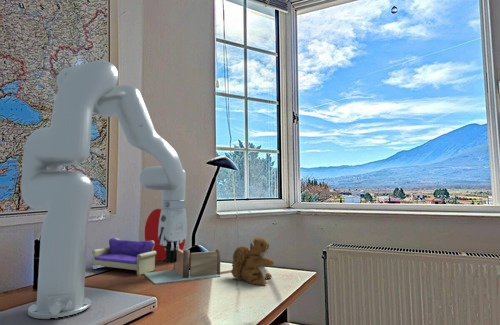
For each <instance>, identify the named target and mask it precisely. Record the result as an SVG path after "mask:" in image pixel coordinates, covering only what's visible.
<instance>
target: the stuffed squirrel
mask: <svg viewBox="0 0 500 325" xmlns="http://www.w3.org/2000/svg"><path fill="white" fill-rule="evenodd" d="M249 241H250V246H249V248H248V247H246V246H243V245H242V246H238V247H237V248H236V249H235V250H234V251H233V254H232V263H231V266H232V268H231V272H230V273H231V275H232V276H233V278H235V279H236V281H246V283H249V284H251V285H255V284H256V286H266V283H267V281H266V280H267V279H265V278H270V277H271V278H272V274H271V273H268V272H267V270H266V268H268V267H271V268H272V267H273V266H274V264H275V261H274V260H273V259H272V258H270V257H266V256H265V254H266V253H267V254H268V253H269V250H270V243H269V242H268V241H267V240H266V239H264V238H262V237H260V236H259V237H255V238H251V239H249ZM265 267H266V268H265ZM271 278H270V279H271Z"/></svg>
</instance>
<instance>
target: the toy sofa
mask: <svg viewBox="0 0 500 325" xmlns="http://www.w3.org/2000/svg"><path fill="white" fill-rule="evenodd" d="M154 244H155V242H154V241H153V240H151V241H145V240H143V241H142V240H139V241H137V240H129V239H128V240H127V239H125V240H122V239H119V238H117V237H111V238H109V240H108V245H109V247H108V246H107V247H102V248H97V249H92V251H91V254H92V266H93V265H101V266H106V267H105V268H107V267H108V268H116V269H125V270H130V271H131V270H132V271H136V275H137V276H141V275H144V273H150V272H152V271H153V272H154V271H155V269H156V265H155V264H156V260H155V255H156V251H153V248H154Z"/></svg>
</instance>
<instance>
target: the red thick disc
mask: <svg viewBox="0 0 500 325" xmlns="http://www.w3.org/2000/svg"><path fill="white" fill-rule="evenodd" d="M161 210H162V208H156V209H153V210H152V211H151V212H149V215H148V216H147V219H146V220H145V221H146V222H145V225H144V241H151V240H153V241H154V242H155V244H154V248H153V251H156V255H155V259H158V260H161V261H166V250H165V247H164V246H162V245H160V240H159V239H158V227H159V219H160V213H161ZM185 242H186V239H184V240H183V242H181V243H180V244H179V249H181V250H182V251H183V249H184V247H185ZM158 260H157V261H158Z"/></svg>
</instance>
